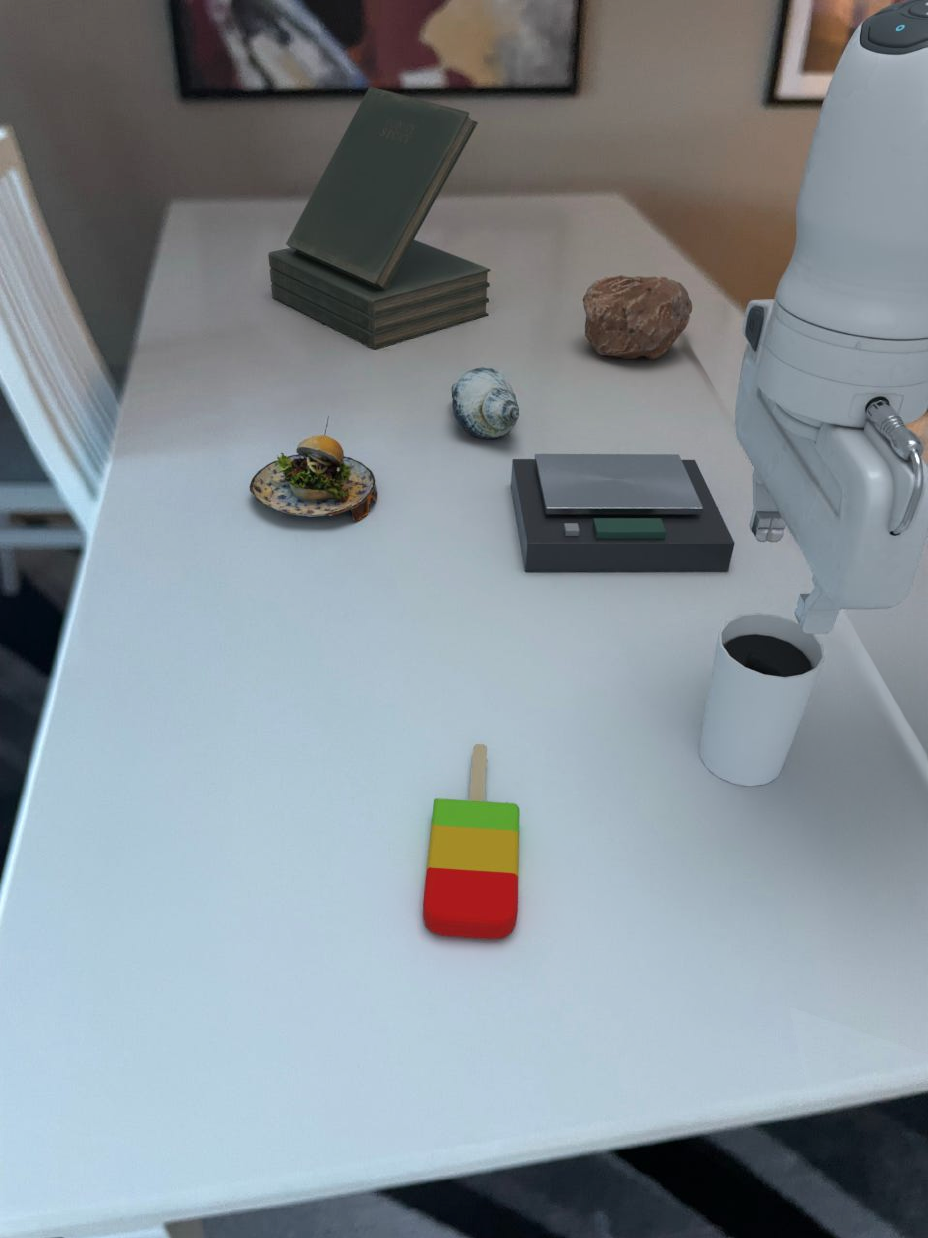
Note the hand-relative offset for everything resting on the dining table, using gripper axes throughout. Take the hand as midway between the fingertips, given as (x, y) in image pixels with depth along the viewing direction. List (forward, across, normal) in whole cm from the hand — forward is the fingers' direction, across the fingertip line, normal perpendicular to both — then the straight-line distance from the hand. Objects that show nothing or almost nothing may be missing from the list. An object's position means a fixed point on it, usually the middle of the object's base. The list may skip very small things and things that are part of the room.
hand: (786, 578), depth 60 cm
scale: (+15, +30, +4) cm, 34 cm away
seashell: (+15, +50, +15) cm, 54 cm away
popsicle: (+15, -7, +19) cm, 25 cm away
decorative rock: (+15, +71, -5) cm, 73 cm away
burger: (+16, +35, +32) cm, 50 cm away
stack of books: (+15, +86, +27) cm, 91 cm away
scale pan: (+12, +31, +4) cm, 34 cm away
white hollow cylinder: (+15, 0, 0) cm, 15 cm away
